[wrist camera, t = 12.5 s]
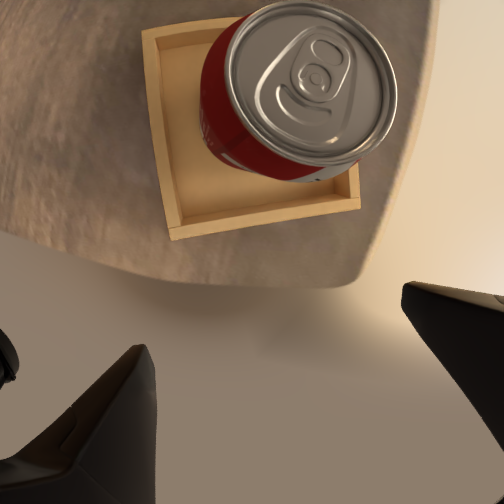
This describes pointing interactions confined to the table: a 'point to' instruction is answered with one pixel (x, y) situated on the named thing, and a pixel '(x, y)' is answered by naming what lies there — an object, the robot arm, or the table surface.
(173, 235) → the tray
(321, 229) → the table surface
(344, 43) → the soda can
